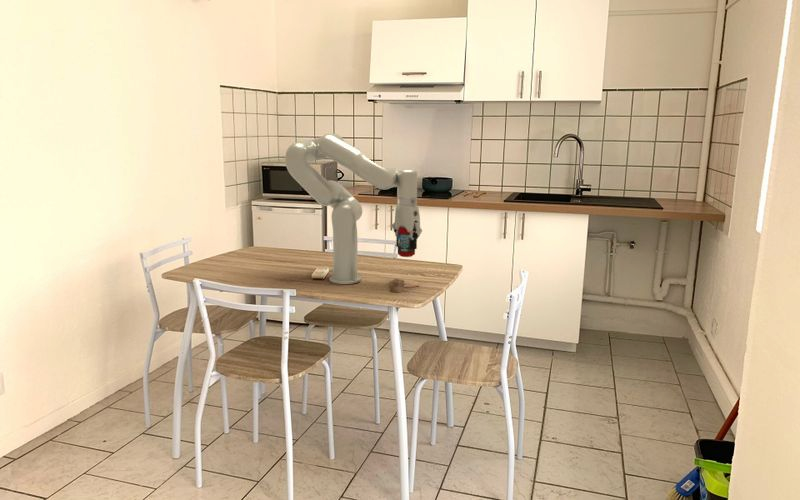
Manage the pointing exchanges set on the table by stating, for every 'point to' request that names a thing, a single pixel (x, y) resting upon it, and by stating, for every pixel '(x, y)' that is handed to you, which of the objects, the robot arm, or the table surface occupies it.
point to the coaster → (410, 283)
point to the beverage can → (404, 242)
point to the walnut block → (396, 285)
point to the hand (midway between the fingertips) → (406, 247)
